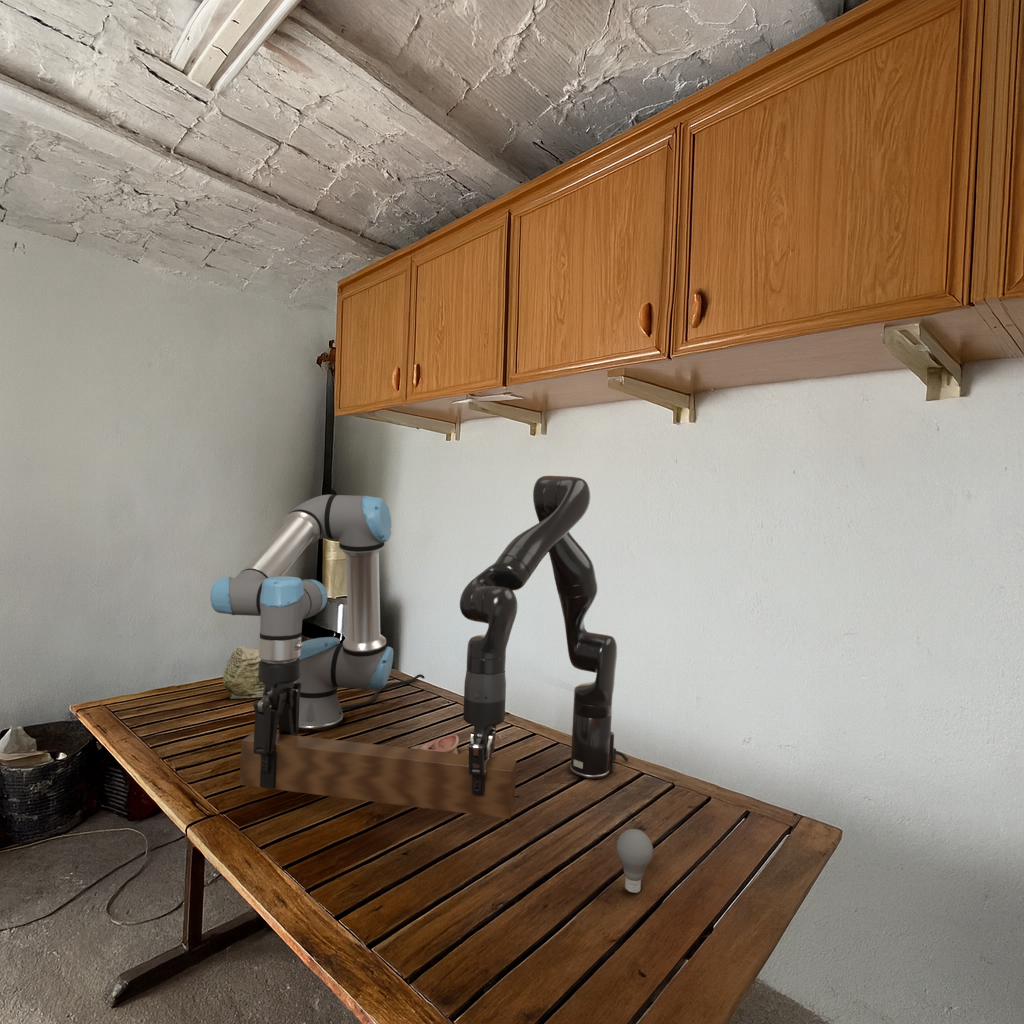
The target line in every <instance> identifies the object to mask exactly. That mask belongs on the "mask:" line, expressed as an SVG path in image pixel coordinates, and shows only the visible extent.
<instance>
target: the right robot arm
mask: <svg viewBox="0 0 1024 1024" xmlns="http://www.w3.org/2000/svg"><path fill="white" fill-rule="evenodd" d="M532 490H533V493H532V501H533V507H534V511H535V514H536V517H537V520H538V523H536V524H534V525H532V526H531V527H529V528H528V529H526V530H525V531H523V532H521V533H520V534H518V535H517V536H516V537H514V538H513V539H512V540H511V541H510V542H509V543H508V544H507V546H506V547H505V548H504V550H503V551H502V553H500V555H499V556H498V558H497V559H496V561H495V562H493V564H491V565H489V566H488V567H486V568H485V569H484V570H483V571H482V572H480V573H479V574H478V575H476V576H475V577H474V578H473V579H472V580H470V581H469V582H468V584H466V586H465V587H464V589H463V591H462V593H461V595H460V598H459V609H460V612H461V615H462V616H464V618H465V619H467V620H469V621H471V622H477V623H482V624H488V625H487V626H488V627H487V630H486V633H485V634H477V635H474V636H472V637H470V639H469V640H468V642H467V649H466V650H467V651H466V669H465V670H466V671H465V677H464V688H463V691H464V692H463V712H462V713H463V714H462V715H463V716H462V717H463V720H464V722H465V723H467V724H468V725H471V726H473V731H471V733H470V738H469V743H468V745H467V748H468V755H469V774H470V775H472V794H473V795H480V796H482V795H483V794H484V792H485V773H486V763H487V761H488V760H489V759H490V757H493V758H494V755H493V754H494V753H495V751H496V747H495V746H496V735H497V726H498V725H501V724H503V722H504V721H505V720H506V719H505V718H506V699H507V698H506V696H507V695H506V694H507V677H506V676H507V675H506V663H507V647H508V643H509V640H510V636H511V633H512V630H513V627H514V624H515V621H516V617H517V613H518V606H519V605H518V604H519V603H518V599H517V595H516V594H515V592H514V591H519V590H520V589H522V588H523V587H524V586H525V585H526V584H527V583H528V581H529V579H530V578H531V577H532V575H533V574H534V572H535V571H536V569H537V567H538V566H539V565H540V563H541V562H542V561H543V559H544V558H545V557H546V556H547V554H549V559H550V563H551V567H552V573H553V579H554V583H555V587H556V592H557V596H558V599H559V603H560V607H561V612H562V617H563V622H564V630H565V637H566V646H567V654H568V659H569V662H570V664H571V665H572V667H573V668H575V669H577V670H580V671H583V672H588V673H595V678H594V679H595V680H593V681H590V682H589V681H588V682H584V683H583V682H582V683H580V684H578V685H576V686H575V687H574V689H573V705H572V707H573V708H572V727H571V728H572V730H571V747H570V749H571V750H570V763H569V764H570V765H569V770H570V772H571V773H572V774H573V775H575V776H577V777H580V778H583V779H590V780H593V779H594V780H596V779H603V778H606V777H608V775H609V774H612V773H613V771H614V769H613V768H614V762H615V761H616V760H617V756H620V757H622V759H623V760H624V761H625V762H628V761H629V758H628V757H627V756H626V755H625V754H624V753H623V752H621V751H617V749H616V748H615V747H614V746H615V733H614V732H613V731H612V716H613V715H612V714H613V713H612V712H613V697H614V690H615V684H616V683H615V682H616V681H615V680H616V668H617V661H618V660H617V659H618V644H617V641H616V639H615V637H614V636H612V635H608V634H603V633H597V632H591V631H587V629H586V626H585V618H586V615H587V613H589V610H590V609H591V607H592V605H593V603H594V601H595V599H596V597H597V594H598V582H597V577H596V570H595V567H594V564H593V560H592V559H591V558H590V556H589V555H588V553H587V552H586V551H585V549H584V548H583V547H582V546H581V545H580V544H579V542H578V541H577V540H576V539H575V538H574V537H573V535H572V534H571V530H572V529H573V528H574V527H575V526H576V525H577V524H578V523H579V522H580V521H581V520H582V519H583V517H584V516H585V514H586V513H587V511H588V509H589V506H590V503H591V490H590V487H589V484H588V482H587V481H586V480H585V479H583V478H581V477H577V476H567V475H543V476H540V477H539V478H537V480H536V481H535V483H534V485H533V489H532ZM476 764H479V765H480V767H475V765H476Z"/></svg>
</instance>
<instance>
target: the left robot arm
mask: <svg viewBox="0 0 1024 1024" xmlns="http://www.w3.org/2000/svg"><path fill="white" fill-rule="evenodd" d="M391 536H392V516H391V512H390V508H389V506H388V504H387V502H386V501H385V500H384V498H382V497H379V496H369V495H352V494H351V495H349V494H348V495H347V494H322V495H318V496H315V497H313V498H310V499H308V500H306V501H304V502H302V503H301V504H298V505H297V506H296V507H294V508H293V509H292V510H291V511H289V512H288V513H287V515H285V517H284V519H283V520H282V526H281V528H280V529H278V531H277V532H276V533H275V534H274V535H273V536H272V538H270V540H269V541H268V542H266V544H265V545H264V546H263V547H262V548H261V549H260V550H259V551H258V552H257V554H255V556H254V557H252V559H251V560H250V561H249V562H248V563H247V565H245V567H243V569H242V570H241V571H240V572H239V573H238V574H237V575H236V576H235V577H232V576H228V577H220V578H218V579H216V581H215V582H214V583H213V585H212V586H211V589H210V603H211V605H210V606H211V608H212V609H213V610H214V611H215V612H216V613H218V614H225V615H231V616H249V617H250V616H254V617H260V628H259V629H260V631H259V643H258V648H259V658H260V659H262V660H261V661H260V662H259V670H258V679H259V680H260V681H261V682H263V683H264V685H265V687H264V692H263V697H261V699H260V700H255V701H254V702H253V710H254V728H253V733H254V749H253V752H254V754H261V769H260V787H266V788H265V789H268V788H274V787H275V786H276V758H277V752H274V748H275V742H276V735H277V734H286V735H295V736H299V735H298V734H297V733H299V732H301V733H316V732H325V731H329V730H332V729H335V728H337V727H339V726H340V725H342V723H343V722H344V713H343V710H346V709H347V710H348V709H352V708H357V707H362V706H365V705H368V704H371V703H372V702H374V701H375V700H376V699H377V696H378V695H379V693H381V692H382V691H384V690H385V689H387V688H390V687H393V686H399V685H405V684H409V683H413V682H415V681H416V680H417V679H419V678H421V679H425V678H426V677H425V676H424V675H423V674H420V673H419V674H417V675H415V676H414V677H413V678H410V679H407V680H401V681H396V682H395V681H394V682H390V683H388V681H389V678H390V675H391V671H392V667H393V661H394V648H393V647H391V646H390V645H389V646H387V638H386V637H385V636H384V635H383V634H381V604H380V603H381V602H380V599H381V597H380V596H381V595H380V557H379V556H380V552H381V550H383V549H384V548H385V543H386V542H388V541H389V540H390V538H391ZM324 539H325V540H338V546H339V550H340V551H342V553H344V554H345V579H346V605H347V606H346V607H347V608H346V610H347V611H346V612H347V637H346V638H344V640H343V641H342V644H341V641H340V639H339V638H338V637H334V636H325V637H316V638H312V639H307V640H304V641H302V636H303V635H302V633H303V632H302V631H303V620H306V619H308V618H311V617H314V616H316V615H317V614H319V612H321V611H322V610H324V609H325V607H326V605H327V602H328V591H327V589H326V587H325V586H324V585H323V584H322V582H320V581H318V580H315V579H301V578H300V577H297V576H285V575H286V574H287V572H288V571H289V569H290V568H291V567H292V565H294V563H295V562H296V561H297V559H298V558H299V557H300V556H301V554H302V553H303V552H304V551H305V550H306V548H307V547H309V546H311V545H312V546H313V544H315V543H316V542H318V540H324ZM387 683H388V684H387ZM338 688H340V689H341V688H342V689H355V690H356V689H357V690H366V691H370V690H376V691H375V692H374V694H373V696H372V698H370V699H367V700H365V701H361V702H358V703H357V702H356V703H352V704H347V705H341V702H340V699H339V695H338ZM260 787H259V788H260Z"/></svg>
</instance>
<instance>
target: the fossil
mask: <svg viewBox="0 0 1024 1024" xmlns="http://www.w3.org/2000/svg"><path fill="white" fill-rule="evenodd" d="M261 660H262V659H260V658H259V647H258V648H251V647H247V646H246V647H245V646H238V647H237V648H236V649H235V650H233V651H232V653H231V656H230V657H229V659H228V660H227V663H226V666H225V668H224V671H223V675H222V676H223V677H222V685H223V687H224V688H225V690H226V691H228V693H229V698H230V699H250V698H263V692H264V687H265V685H264V683H263V682H261V681H260V680H259V679H258V670H259V662H260V661H261Z"/></svg>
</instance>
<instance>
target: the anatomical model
mask: <svg viewBox="0 0 1024 1024" xmlns="http://www.w3.org/2000/svg"><path fill="white" fill-rule="evenodd" d="M459 742H460V739H459V736H458V735H457V734H448V735H446V736H442V737H438V738H435V739H433V740H431V741H428V742H425V743H423V744H418V745H417V744H416V745H413V746H411V748H412V749H421V750H430V751H439V752H448V753H457V754H459V751H458V748H457V747H458V746H459Z"/></svg>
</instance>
